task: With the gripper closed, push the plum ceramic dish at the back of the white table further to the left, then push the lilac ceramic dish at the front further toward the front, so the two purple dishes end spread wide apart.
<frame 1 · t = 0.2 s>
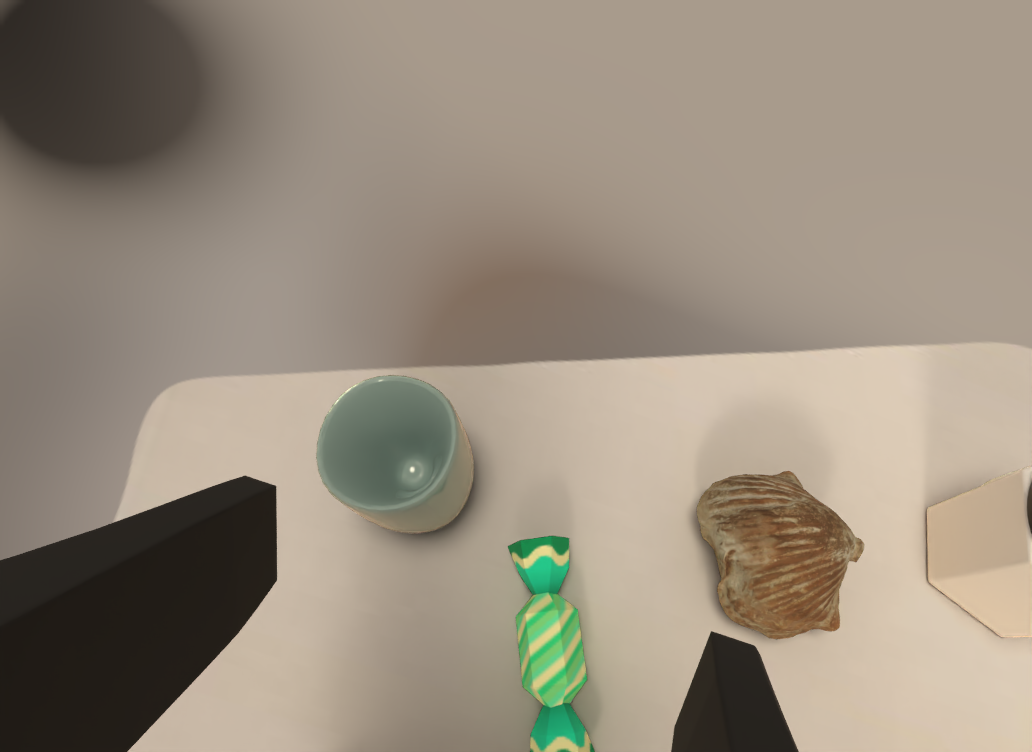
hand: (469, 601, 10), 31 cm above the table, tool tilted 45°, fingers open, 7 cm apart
candy: (551, 647, 38), on the table
seashell: (762, 557, 39), on the table
jar: (993, 559, 38), on the table
cup: (426, 486, 42), on the table
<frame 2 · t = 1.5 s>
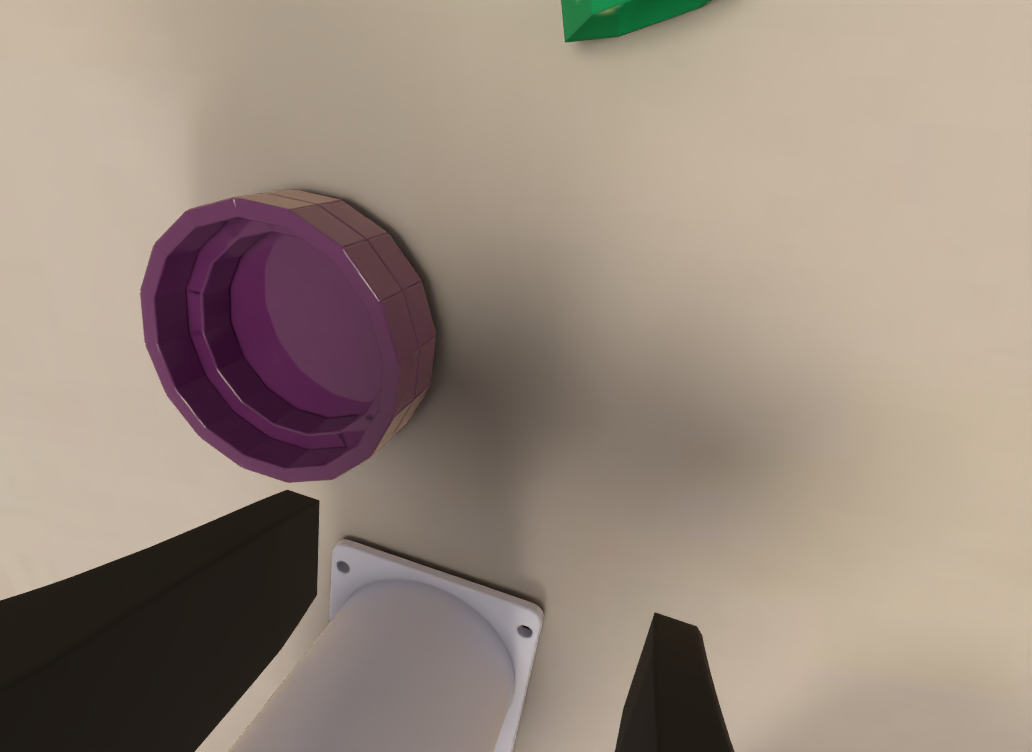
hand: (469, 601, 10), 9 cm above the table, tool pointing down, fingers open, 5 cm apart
dish plum: (323, 322, 20), on the table
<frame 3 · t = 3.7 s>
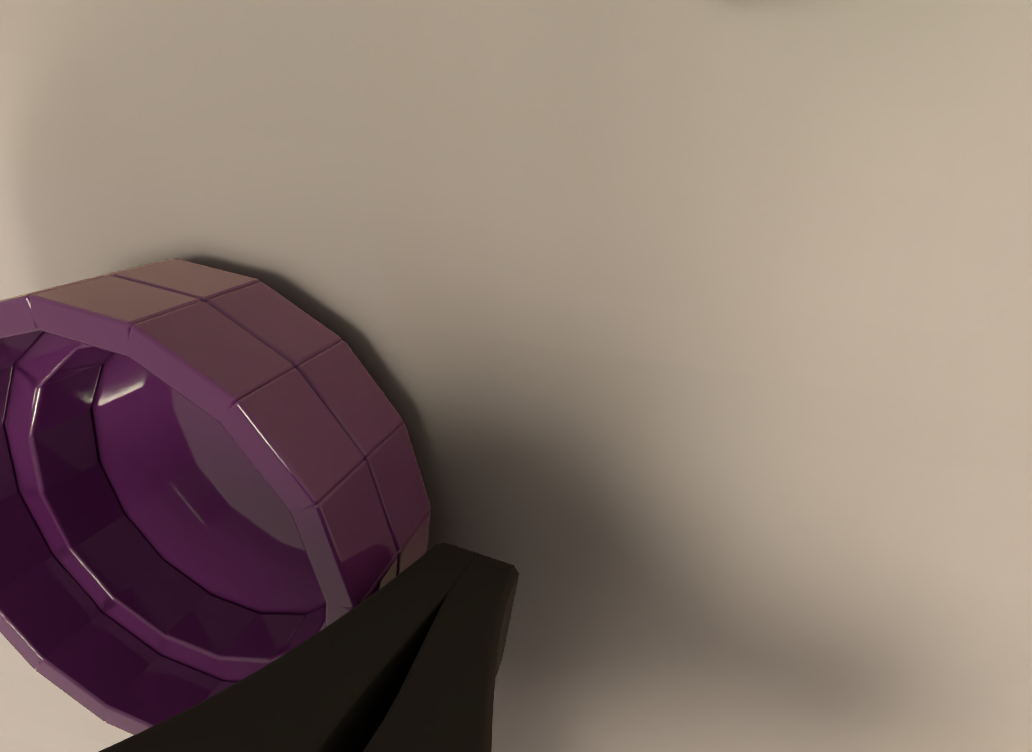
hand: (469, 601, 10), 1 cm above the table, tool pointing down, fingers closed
dish plum: (246, 466, 12), on the table, touching gripper
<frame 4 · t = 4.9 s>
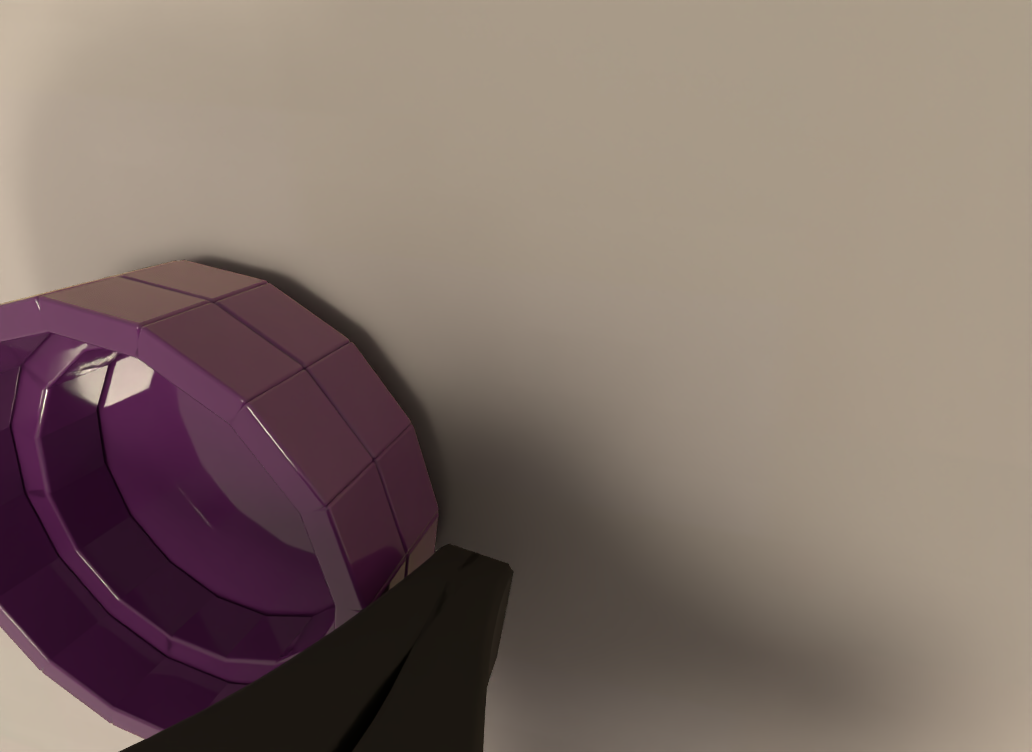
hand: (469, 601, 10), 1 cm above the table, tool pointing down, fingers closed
dish plum: (253, 468, 12), on the table, touching gripper
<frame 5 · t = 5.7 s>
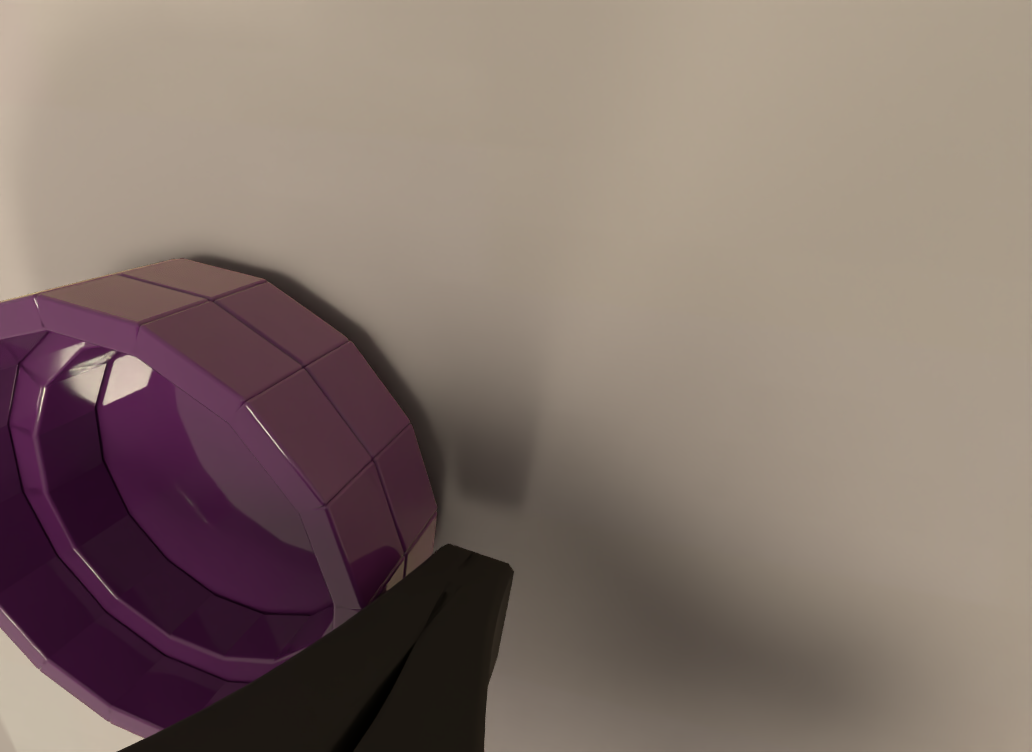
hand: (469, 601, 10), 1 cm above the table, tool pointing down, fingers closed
dish plum: (251, 466, 12), on the table, touching gripper
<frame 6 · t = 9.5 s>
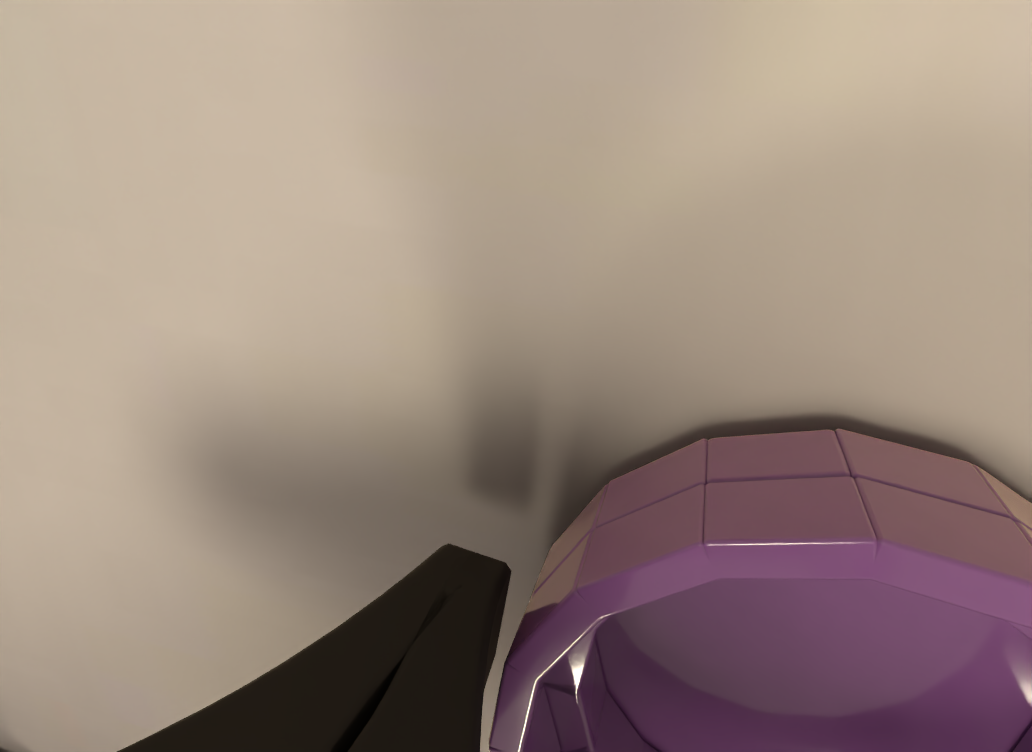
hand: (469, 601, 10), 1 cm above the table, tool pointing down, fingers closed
dish lilac: (791, 645, 10), on the table, touching gripper
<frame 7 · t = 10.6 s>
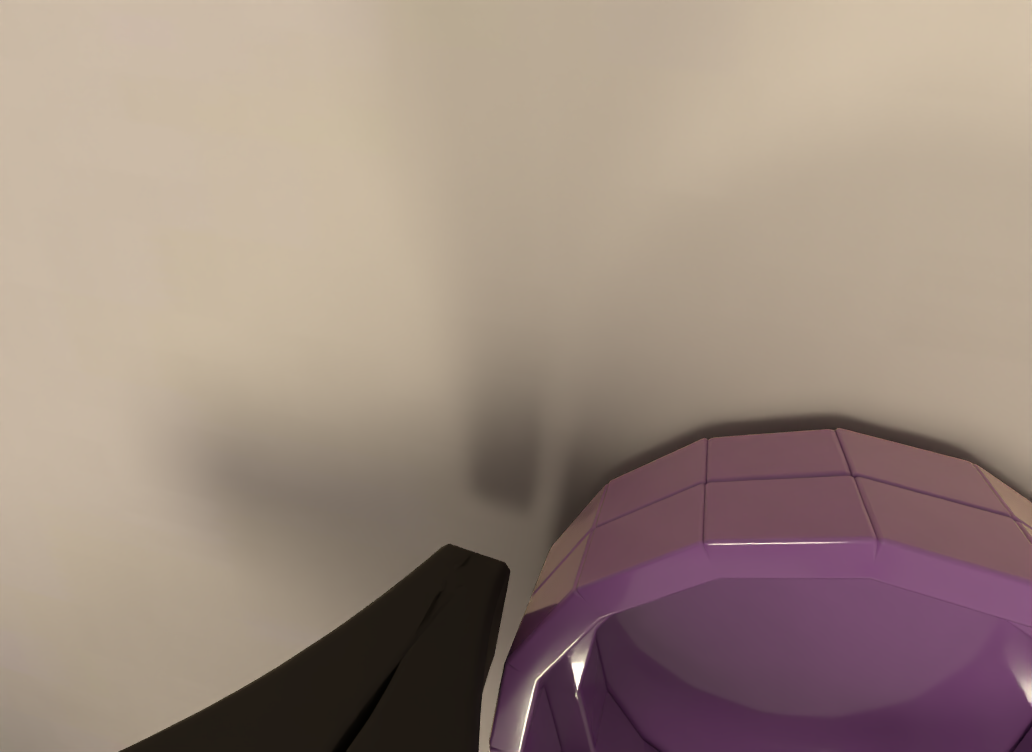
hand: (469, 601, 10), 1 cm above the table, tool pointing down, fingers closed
dish lilac: (791, 645, 10), on the table, touching gripper
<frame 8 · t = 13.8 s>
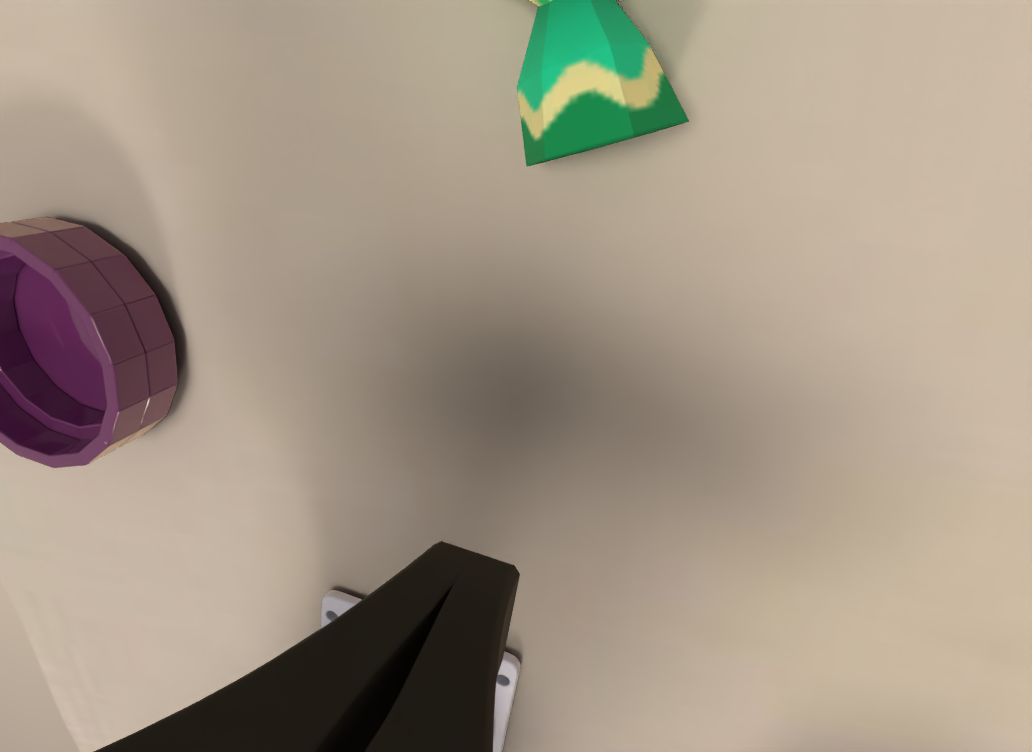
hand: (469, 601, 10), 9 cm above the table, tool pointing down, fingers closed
dish plum: (95, 330, 23), on the table
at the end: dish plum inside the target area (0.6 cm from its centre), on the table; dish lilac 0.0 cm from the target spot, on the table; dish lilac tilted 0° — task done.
